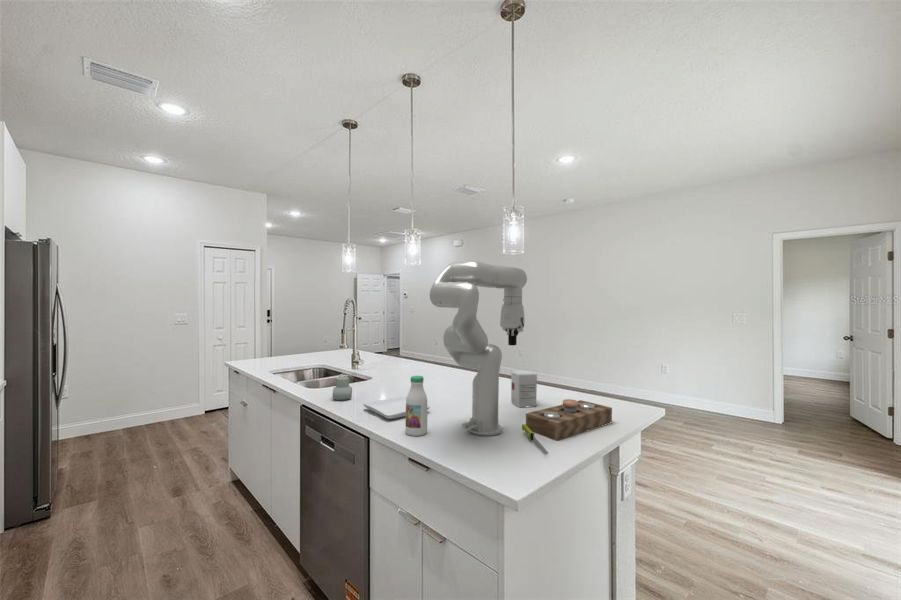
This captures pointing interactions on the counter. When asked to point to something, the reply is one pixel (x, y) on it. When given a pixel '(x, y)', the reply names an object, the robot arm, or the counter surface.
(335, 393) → the air freshener
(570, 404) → the knob middle
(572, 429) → the brown wooden rectangular block
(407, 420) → the milk bottle
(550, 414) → the knob near
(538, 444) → the kitchen knife
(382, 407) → the salad plate
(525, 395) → the supplement box
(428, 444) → the counter surface
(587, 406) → the knob far
